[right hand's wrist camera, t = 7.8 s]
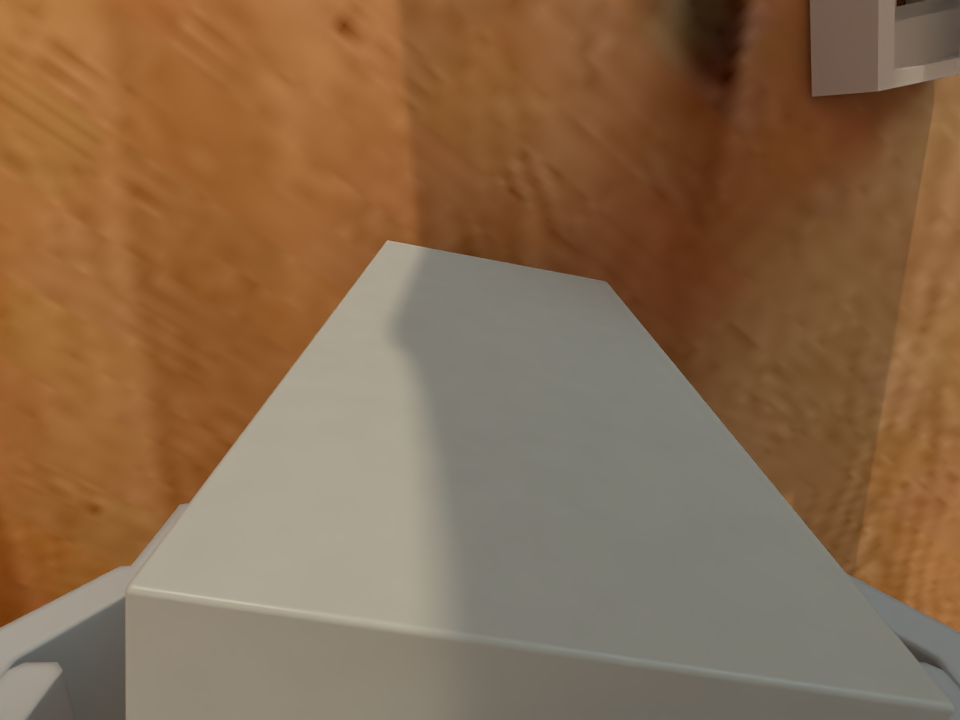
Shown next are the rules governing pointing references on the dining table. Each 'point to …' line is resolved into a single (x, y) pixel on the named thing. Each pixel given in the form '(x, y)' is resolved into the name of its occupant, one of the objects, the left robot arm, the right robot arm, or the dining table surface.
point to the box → (499, 534)
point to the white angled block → (882, 44)
